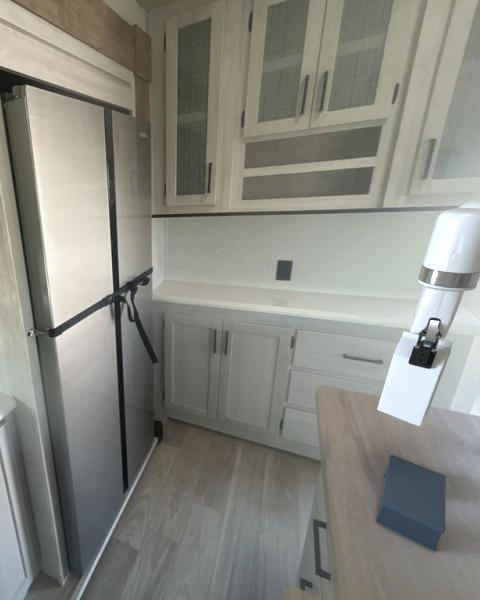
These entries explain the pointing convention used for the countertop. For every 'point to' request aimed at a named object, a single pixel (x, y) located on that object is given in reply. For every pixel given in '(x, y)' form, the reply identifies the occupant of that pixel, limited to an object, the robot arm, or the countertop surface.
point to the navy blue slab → (413, 501)
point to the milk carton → (412, 381)
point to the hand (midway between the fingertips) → (420, 356)
